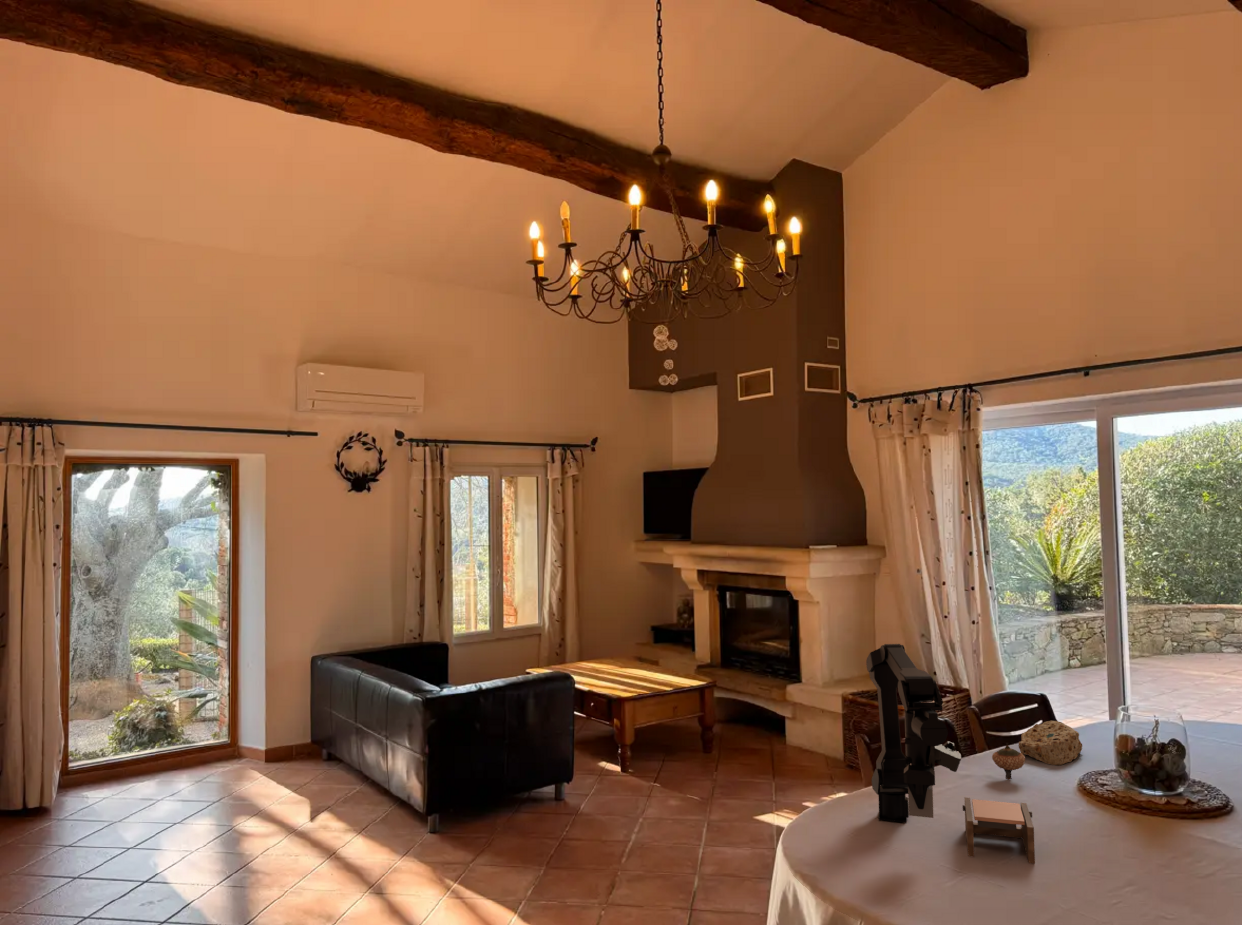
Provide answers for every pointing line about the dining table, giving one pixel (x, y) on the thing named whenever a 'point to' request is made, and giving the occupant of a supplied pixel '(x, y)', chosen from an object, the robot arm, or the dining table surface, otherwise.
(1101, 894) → the dining table surface
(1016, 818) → the trapdoor
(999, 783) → the dining table surface
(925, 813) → the taupe matte cube
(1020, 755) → the acorn
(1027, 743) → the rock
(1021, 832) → the trapdoor frame
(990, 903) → the dining table surface
